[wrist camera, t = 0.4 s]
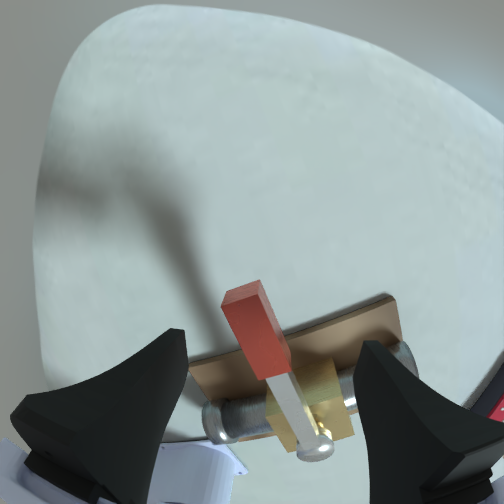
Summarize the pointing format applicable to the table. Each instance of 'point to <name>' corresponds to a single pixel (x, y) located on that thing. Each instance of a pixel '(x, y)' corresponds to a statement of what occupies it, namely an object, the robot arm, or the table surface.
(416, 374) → the valve
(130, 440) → the robot arm
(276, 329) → the lever
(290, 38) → the table surface
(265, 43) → the table surface
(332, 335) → the board
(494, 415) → the calculator
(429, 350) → the table surface
